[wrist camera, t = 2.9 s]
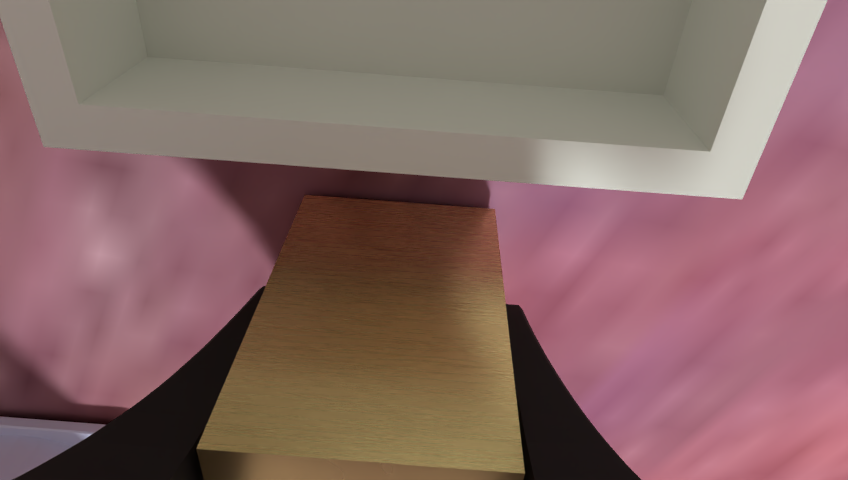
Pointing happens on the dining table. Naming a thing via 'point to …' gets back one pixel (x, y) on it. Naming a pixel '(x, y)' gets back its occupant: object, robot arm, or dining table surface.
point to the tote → (423, 84)
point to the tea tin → (374, 353)
